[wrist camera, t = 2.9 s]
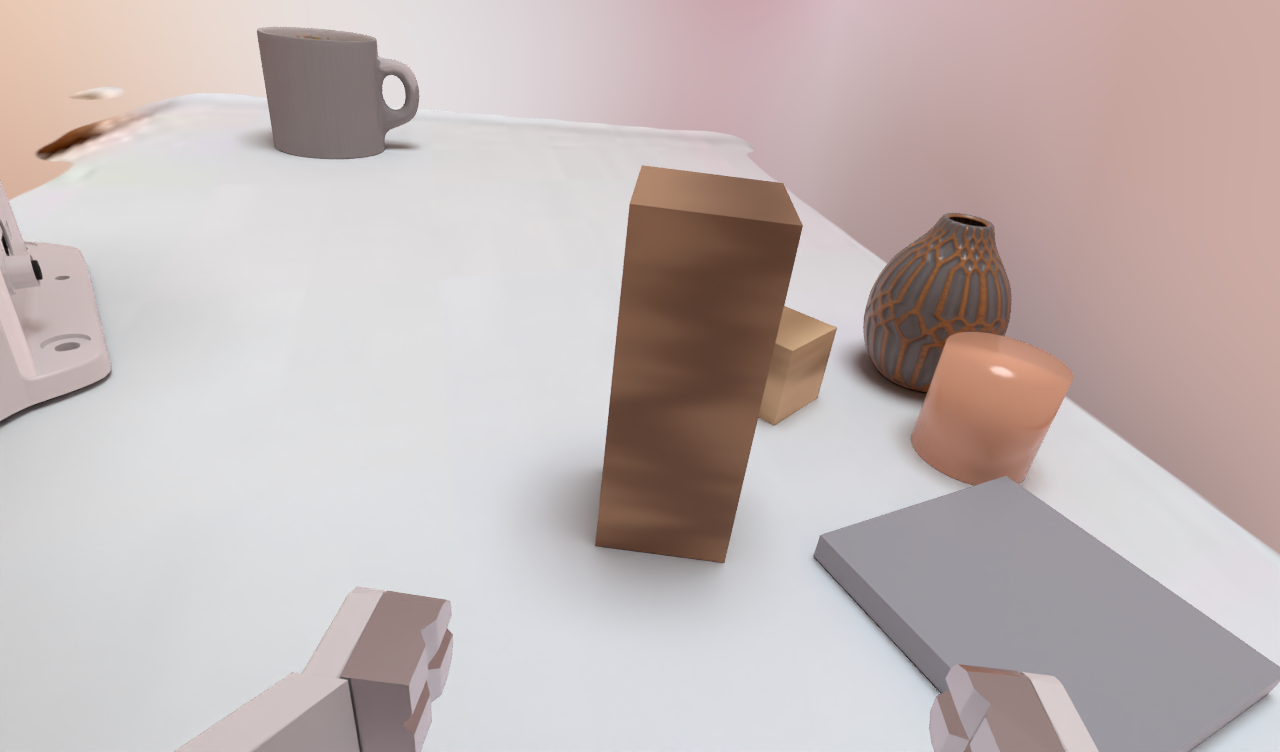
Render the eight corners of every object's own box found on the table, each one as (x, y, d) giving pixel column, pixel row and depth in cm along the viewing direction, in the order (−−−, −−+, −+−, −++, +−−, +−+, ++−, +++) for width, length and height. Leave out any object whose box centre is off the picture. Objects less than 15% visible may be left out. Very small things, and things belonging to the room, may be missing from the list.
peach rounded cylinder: (888, 433, 32) (921, 338, 29) (960, 415, 34) (996, 326, 32) (975, 499, 28) (1021, 397, 26) (1049, 474, 30) (1098, 378, 28)
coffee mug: (259, 154, 62) (239, 32, 57) (292, 132, 70) (277, 24, 65) (412, 165, 64) (405, 48, 59) (426, 143, 72) (421, 39, 67)
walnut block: (595, 545, 23) (629, 203, 18) (609, 466, 27) (641, 165, 21) (724, 562, 23) (802, 226, 17) (720, 481, 27) (783, 183, 21)
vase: (931, 344, 41) (982, 202, 37) (1007, 406, 35) (1079, 246, 31) (829, 345, 39) (870, 196, 35) (891, 410, 34) (950, 242, 29)
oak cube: (706, 390, 34) (719, 317, 32) (752, 367, 36) (766, 298, 34) (773, 426, 31) (792, 350, 29) (817, 399, 34) (836, 327, 32)
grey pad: (813, 556, 24) (820, 535, 24) (997, 494, 29) (1006, 475, 28) (1074, 834, 17) (1092, 812, 16) (1268, 693, 21) (1287, 672, 21)
